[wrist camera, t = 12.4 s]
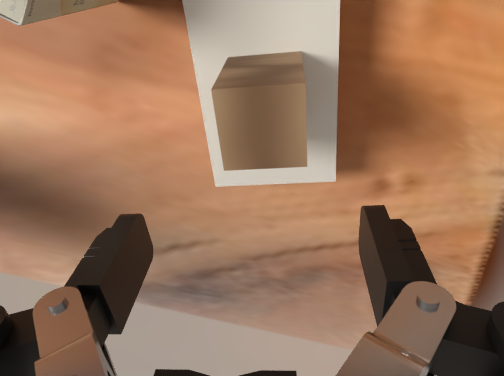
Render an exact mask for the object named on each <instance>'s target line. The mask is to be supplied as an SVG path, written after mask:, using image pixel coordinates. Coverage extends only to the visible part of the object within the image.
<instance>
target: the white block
mask: <svg viewBox="0 0 504 376" xmlns="http://www.w3.org/2000/svg"><path fill="white" fill-rule="evenodd" d="M182 2H183V7H184V13H185V19H186V24H187V30H188V35H189V41H190V47H191V52H192V58H193V63H194V69H195V75H196V80H197V86H198V91H199V97H200V102H201V108H202V114H203V119H204V125H205V130H206V136H207V142H208V147H209V153H210V158H211V164H212V170H213V175H214V181H215V186H216V187H220V186H243V185H266V184H289V183H312V182H335V181H336V145H337V106H338V66H339V26H340V0H182ZM297 51H301V55H302V62H303V68H304V75H305V81H306V123H307V167H293V168H272V169H251V170H230V171H224V168H223V162H222V156H221V149H220V143H219V137H218V130H217V124H216V118H215V111H214V105H213V99H212V92H211V89H212V87H213V85H214V83H215V81H216V79H217V77H218V75H219V73H220V72H221V70H222V68H223V66H224V64H225V62H226V60H227V58H228V57H236V56H249V55H261V54H273V53H285V52H297Z"/></svg>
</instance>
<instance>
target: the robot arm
mask: <svg viewBox="0 0 504 376" xmlns="http://www.w3.org/2000/svg"><path fill="white" fill-rule="evenodd" d="M89 248H90V249H88V250H87V252H86V254H85V255H84V258H82V260H81V261H80V263H79V264H78V266H77V267H76V269H75V271H74V272H73V274H72V275H71V277H70V278H69V280H68V281H67V283H66V284H65V286H64V287H61V288H58V289H55V290H53V291H51V292H49V293H47V294H46V295H44V296H43V297H42V298H41V299H40V300H39V301H38V302H37V303H36V305H35V307H34V308H32V309H29V310H25V311H21V312H18V313H14V314H10V315H9V314H8V313H7V311H6V310H5V309H4V307H2V306H0V376H117V374H116V371H115V368H114V365H113V363H112V360H111V358H110V355H109V352H108V349H107V346H106V344H105V340H106V338H107V336H108V334H121V333H122V331H123V329H124V326H125V324H126V321H127V319H128V317H129V314H130V312H131V309H132V307H133V305H134V302H135V300H136V298H137V295H138V293H139V290H140V288H141V286H142V283H143V281H144V279H145V276H146V274H147V271H148V269H149V267H150V264H151V262H152V258H153V245H152V242H151V238H150V235H149V232H148V229H147V226H146V222H145V219H144V217H143V215H142V214H121V215H119V217H118V218H117V220H116V221H115V223H114V225H113V226H112V228H107V229H105V230H104V231H103V232H102V233H101V234H99V235H98V236H97V237H96V238H95V240H94V241H93V243H92V244H91V246H90V247H89ZM359 254H360V259H361V263H362V267H363V271H364V275H365V279H366V283H367V287H368V291H369V295H370V299H371V303H372V307H373V311H374V315H375V319H376V323H377V328H376V330H375V331H374V332H373V333H371V332H367V333H366V334H365V335H364V336H363V337H362V338H361V340H360V341H359V343H358V344H357V346H356V347H355V348H354V350H353V351H352V353H351V354H350V356H349V357H348V359H347V360H346V362H345V363H344V364H343V366H342V367H341V369H340V370H339V372H338V373H337V375H336V376H436V375H437V376H504V302H501V303H498V304H497V305H495V306H494V307H493V309H492V311H489V310H484V309H480V308H476V307H472V306H468V305H464V304H462V303H459V302H457V301H455V300H454V298H453V296H452V295H451V294H450V293H449V292H448V291H447V290H446V289H444V288H443V287H441V286H439V285H437V283H436V281H435V279H434V277H433V274H432V272H431V270H430V268H429V266H428V263H427V261H426V259H425V257H424V255H423V253H422V251H421V248H420V246H419V244H418V242H417V241H416V237H415V235H414V233H413V231H412V229H411V228H410V227H409V226H408V225H407V224H406V223H405V222H404V221H402V220H401V219H390V218H389V215H388V213H387V210H386V208H385V206H384V205H375V206H362V207H361V215H360V228H359ZM154 376H209V375H206V374H202V373H199V372H195V371H192V370H165V369H164V370H163V369H162V370H161V369H156V370H155V373H154ZM240 376H297V375H296V371H257V372H252V373H248V374H244V375H240Z"/></svg>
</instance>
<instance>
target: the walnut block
mask: <svg viewBox="0 0 504 376" xmlns="http://www.w3.org/2000/svg"><path fill="white" fill-rule="evenodd" d="M211 92H212V99H213V105H214V111H215V118H216V124H217V130H218V137H219V143H220V149H221V156H222V162H223V168H224V171H230V170H251V169H272V168H293V167H307V123H306V81H305V75H304V68H303V62H302V55H301V51H297V52H285V53H273V54H261V55H249V56H236V57H228V58H227V60H226V62H225V64H224V66H223V68H222V70H221V72H220V73H219V75H218V77H217V79H216V81H215V83H214V85H213V87H212V89H211Z"/></svg>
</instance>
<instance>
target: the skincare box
mask: <svg viewBox="0 0 504 376" xmlns="http://www.w3.org/2000/svg"><path fill="white" fill-rule="evenodd" d="M116 2H118V0H0V17H2V18H4V19H6V20H8V21H10V22H12V23H14V24H16V25H19V26H20V25H25V24H30V23H34V22H38V21H42V20H46V19H50V18H54V17H58V16H63V15H67V14H71V13H75V12H80V11H83V10H87V9H91V8H95V7H99V6H104V5H108V4H112V3H116Z"/></svg>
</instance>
